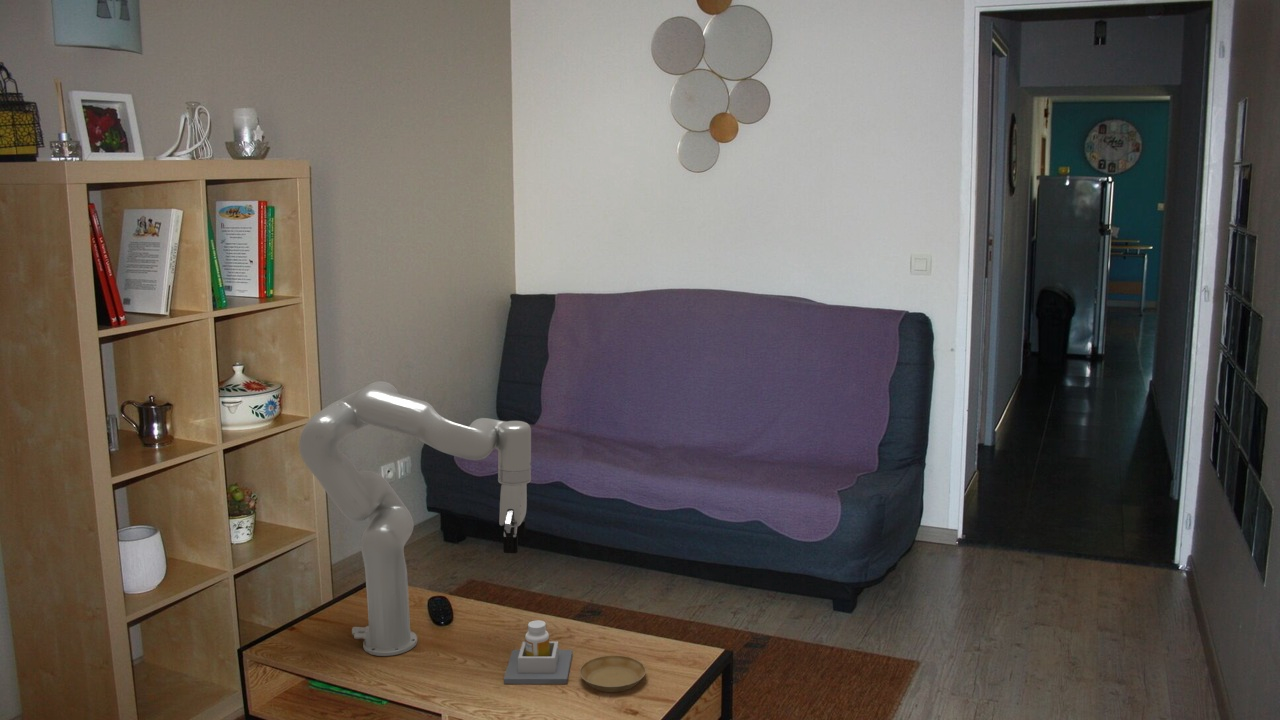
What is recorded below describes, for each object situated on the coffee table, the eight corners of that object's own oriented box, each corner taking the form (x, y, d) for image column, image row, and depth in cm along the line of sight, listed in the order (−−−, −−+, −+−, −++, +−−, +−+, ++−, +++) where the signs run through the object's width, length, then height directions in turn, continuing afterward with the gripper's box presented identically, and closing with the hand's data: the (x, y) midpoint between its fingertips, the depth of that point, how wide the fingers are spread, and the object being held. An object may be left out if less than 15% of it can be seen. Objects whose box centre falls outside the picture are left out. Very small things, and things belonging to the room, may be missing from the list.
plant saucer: (582, 665, 236) (582, 654, 235) (646, 665, 235) (646, 654, 235) (576, 697, 221) (576, 686, 221) (645, 698, 221) (645, 686, 220)
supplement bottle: (551, 658, 236) (550, 619, 234) (547, 670, 230) (546, 629, 229) (528, 657, 236) (527, 618, 234) (523, 669, 231) (522, 628, 229)
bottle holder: (503, 684, 227) (503, 664, 226) (512, 654, 240) (512, 635, 240) (567, 684, 226) (566, 664, 226) (572, 654, 240) (571, 635, 239)
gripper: (505, 463, 246) (505, 531, 249) (490, 485, 229) (491, 558, 232) (536, 464, 246) (536, 533, 249) (524, 486, 229) (524, 559, 232)
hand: (514, 545), depth 241 cm, fingers open, 9 cm apart
